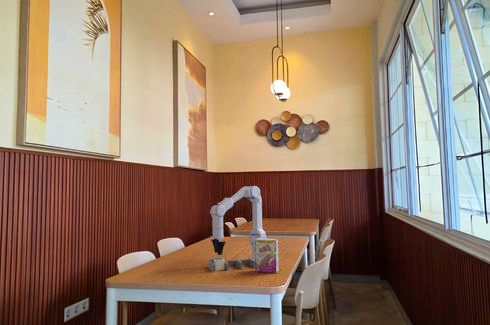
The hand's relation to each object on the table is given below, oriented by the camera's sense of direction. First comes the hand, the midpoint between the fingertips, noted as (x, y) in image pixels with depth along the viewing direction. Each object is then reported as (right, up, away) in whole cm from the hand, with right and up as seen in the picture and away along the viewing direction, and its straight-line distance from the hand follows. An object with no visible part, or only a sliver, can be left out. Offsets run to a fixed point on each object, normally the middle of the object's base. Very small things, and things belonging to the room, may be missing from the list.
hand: (218, 253), depth 189 cm
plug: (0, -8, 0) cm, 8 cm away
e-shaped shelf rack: (+7, -8, +3) cm, 11 cm away
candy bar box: (+25, -7, -9) cm, 28 cm away
